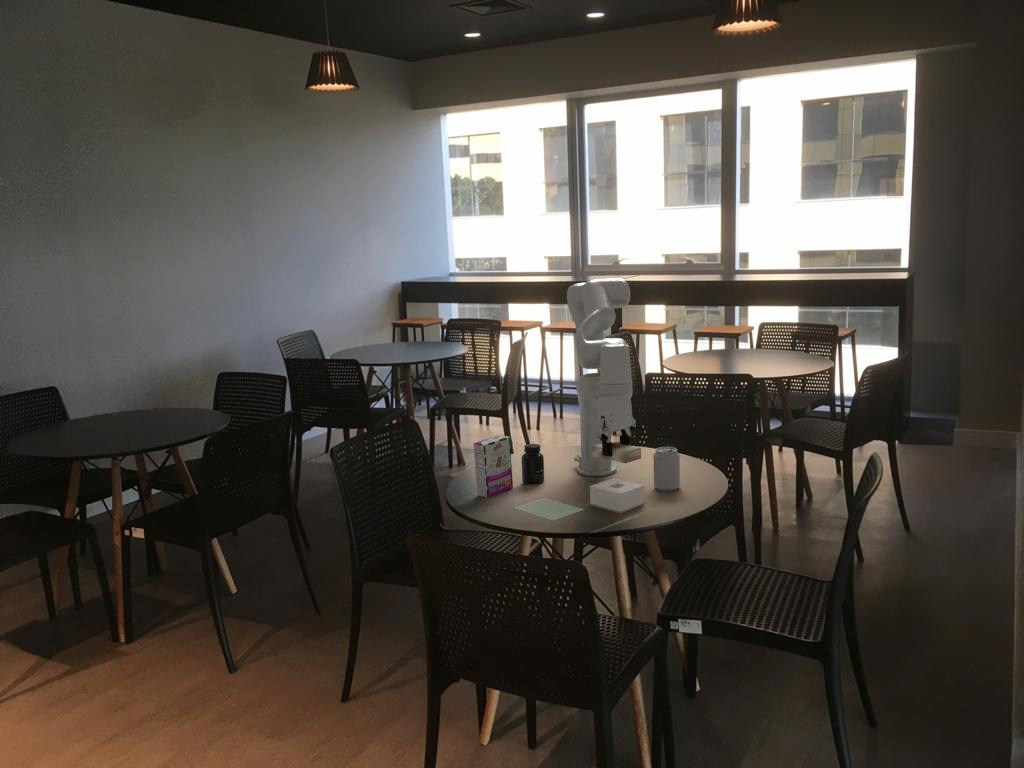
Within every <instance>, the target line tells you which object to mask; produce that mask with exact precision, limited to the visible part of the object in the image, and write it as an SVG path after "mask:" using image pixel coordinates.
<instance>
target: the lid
mask: <svg viewBox="0 0 1024 768" xmlns="http://www.w3.org/2000/svg"><path fill="white" fill-rule="evenodd" d="M611 442H612V457H608V456H604V455H602V443H600V444H596V445H593V446H592V456H594V457H598V458H603V459H608V460H611V462H617V463H621V464H622V463H623V464H627V463H631V462H635V461H637V460H641V459H642V447H639V446H633V445H631V444H630V445H624V444H621V443H620V441H611Z"/></svg>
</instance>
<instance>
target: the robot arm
mask: <svg viewBox="0 0 1024 768" xmlns="http://www.w3.org/2000/svg"><path fill="white" fill-rule="evenodd" d="M566 300H567V306H568V311H569V312H570V315H571V317H572V320H573V322H574V325H575V331H576V333H575V348H576V353H577V358H578V361H579V365H580V366H581V368H583V369H586V370H600V371H599V372H592V373H585V374H582V375H580V376H579V377H578V378H577V380H576V382H575V383H576V385H575V387H576V394H577V399H578V400H577V401H578V407H579V409H578V410H579V425H580V430H579V431H580V453H577V454H576V456H575V457H574V458H573V461H574V462H578V463H579V464H578V465H577V467H576V472H577V474H579V475H583V476H586V477H589V476H590V477H603V476H608V475H609V476H610V475H613V474H615V472H617V466H616V465H615V464H613V463H612V460H608V459H603V458H598V457H594V456H592V446H593V445H596V444H600V443H602V455H604V456H608V457H612V442H613V441H612V437H613V433H614V432H620V435H619V442H620V443H621V444H624V445H630V446H631V441H630V440H631V439H630V437H632V433H633V430H634V426H635V425H636V423H637V421H636V419H635V418H634V417H633V406H632V400H631V398H632V396H633V390H634V389H633V377H632V369H631V366H632V365H631V356H630V352H631V351H630V345H628V343H627V341H626V340H625V339H623V338H620V337H608V338H607V337H606V338H605V336H604V335H605V334H604V331H606V330H608V329H610V328H611V327H612V326H613V325H614V323H615V321H616V317H617V316H616V312H615V309H621V308H625V307H626V306H627V305H629V303H630V300H631V289H630V286H629V283H628V282H627V280H625V279H624V278H622V277H621V278H619V277H614V278H596V279H591V280H588V281H586V282H579V283H574V284H572V285H570V286H569V287H568V289H567V291H566Z"/></svg>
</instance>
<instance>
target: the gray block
mask: <svg viewBox="0 0 1024 768" xmlns="http://www.w3.org/2000/svg"><path fill="white" fill-rule="evenodd" d="M589 500H590V502H589V503H590V506H592V507H596V508H600V509H604V510H606V511H607V510H608V511H611V512H615V513H617V514H622V513H625V512H628V511H631V510H633V509H636V508H639V507H642V506H645V485H644V484H640V483H636V482H631V481H627V480H623V479H619V478H616V477H612V478H609V479H607V480H604V481H601V482H597V483H595V484H592V485H589Z"/></svg>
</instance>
